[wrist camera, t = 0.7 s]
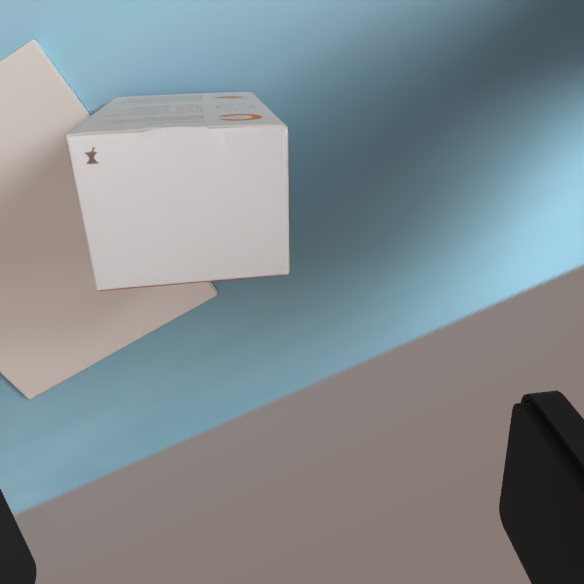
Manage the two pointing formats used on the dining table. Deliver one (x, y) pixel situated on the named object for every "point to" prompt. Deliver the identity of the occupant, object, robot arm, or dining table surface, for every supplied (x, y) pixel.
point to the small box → (182, 189)
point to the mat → (57, 243)
